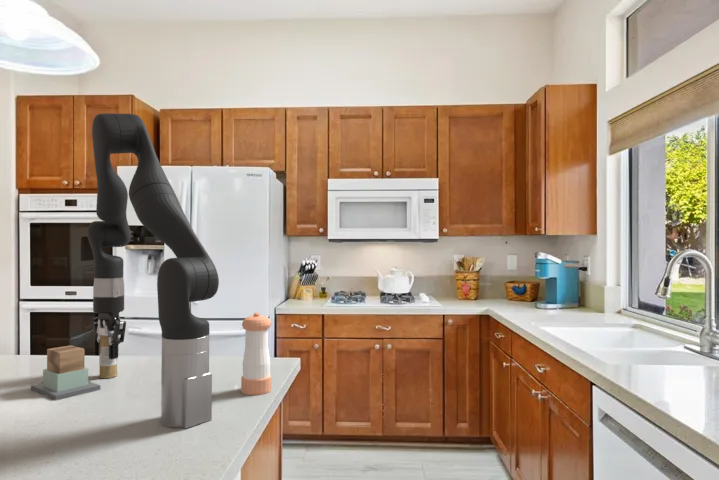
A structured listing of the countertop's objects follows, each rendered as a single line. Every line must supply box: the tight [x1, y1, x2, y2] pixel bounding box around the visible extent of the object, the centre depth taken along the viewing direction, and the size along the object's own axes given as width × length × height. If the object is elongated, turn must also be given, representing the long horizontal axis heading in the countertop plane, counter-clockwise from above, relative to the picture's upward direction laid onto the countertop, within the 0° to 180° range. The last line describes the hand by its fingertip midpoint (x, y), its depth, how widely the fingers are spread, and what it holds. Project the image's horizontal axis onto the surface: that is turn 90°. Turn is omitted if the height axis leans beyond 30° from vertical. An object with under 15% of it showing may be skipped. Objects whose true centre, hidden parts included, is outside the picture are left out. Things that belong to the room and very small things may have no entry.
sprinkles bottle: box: [98, 327, 119, 379], centre depth 130 cm, size 5×5×14 cm
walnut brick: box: [46, 344, 86, 374], centre depth 118 cm, size 7×6×5 cm
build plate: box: [30, 366, 101, 401], centre depth 118 cm, size 14×10×5 cm
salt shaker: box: [240, 312, 273, 396], centre depth 118 cm, size 7×7×19 cm
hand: (108, 356), depth 130 cm, fingers open, 5 cm apart
